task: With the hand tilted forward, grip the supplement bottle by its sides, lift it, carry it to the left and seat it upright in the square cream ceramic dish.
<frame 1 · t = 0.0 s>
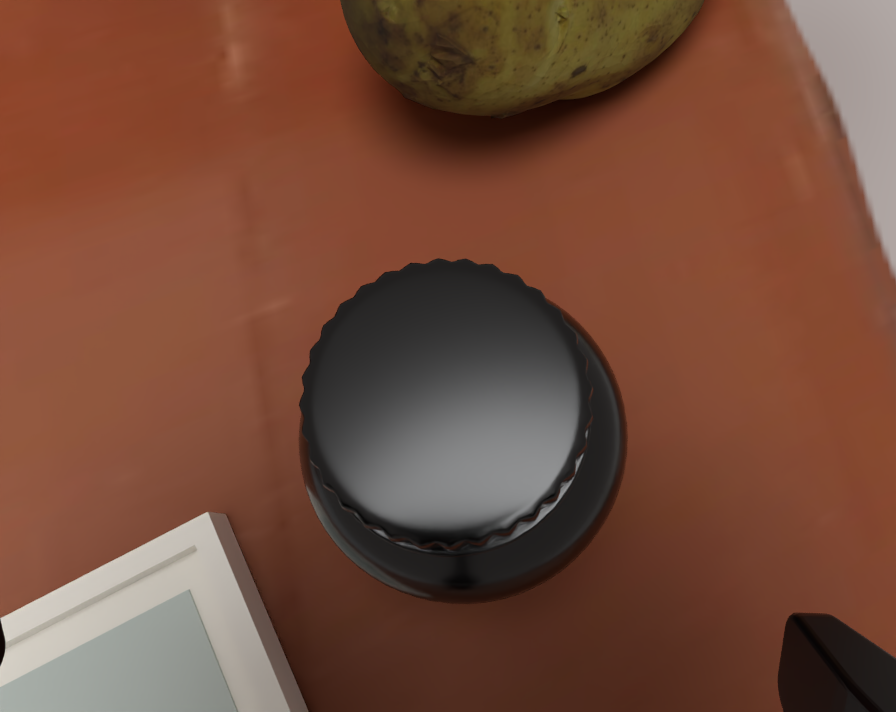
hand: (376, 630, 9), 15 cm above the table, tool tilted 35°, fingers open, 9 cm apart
supplement bottle: (477, 472, 24), on the table
potato: (546, 52, 27), on the table
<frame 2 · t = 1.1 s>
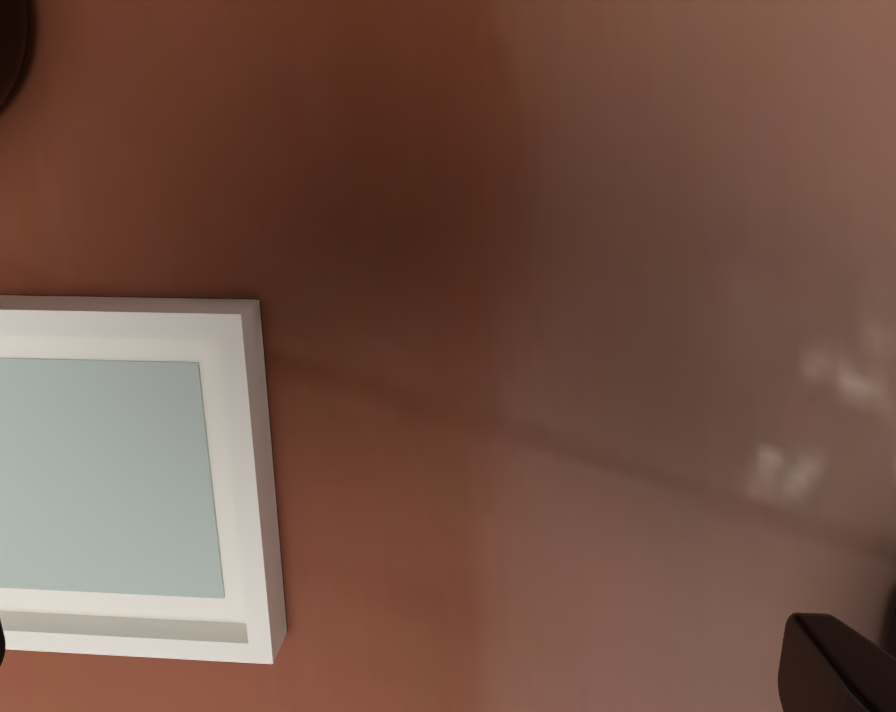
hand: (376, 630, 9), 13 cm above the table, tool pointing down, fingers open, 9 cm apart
cream ceramic dish: (97, 471, 23), on the table
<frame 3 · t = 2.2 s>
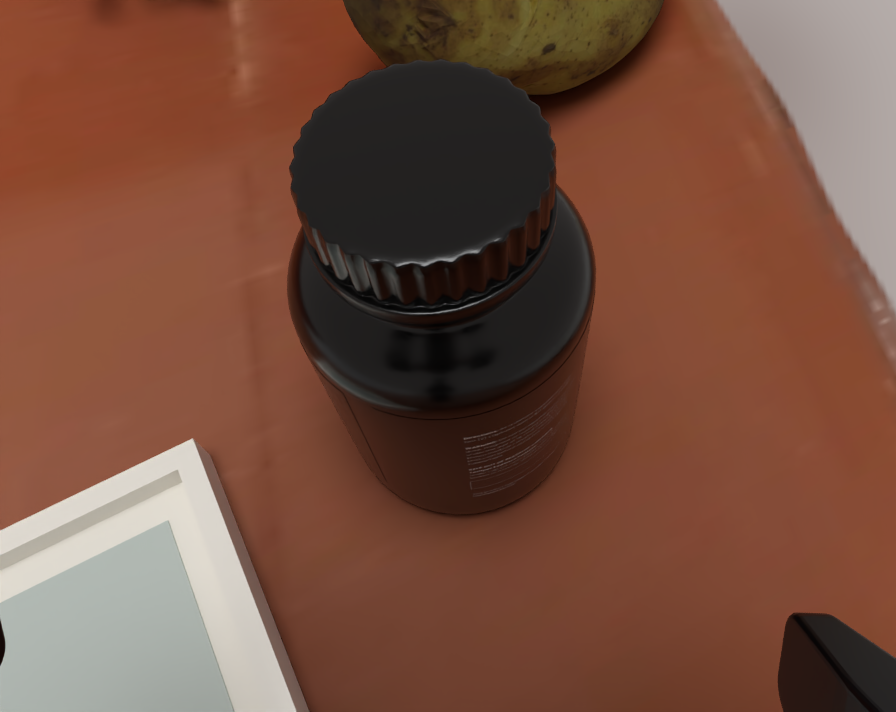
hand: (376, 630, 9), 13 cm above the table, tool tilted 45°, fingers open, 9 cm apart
supplement bottle: (461, 414, 24), on the table
potato: (522, 66, 31), on the table
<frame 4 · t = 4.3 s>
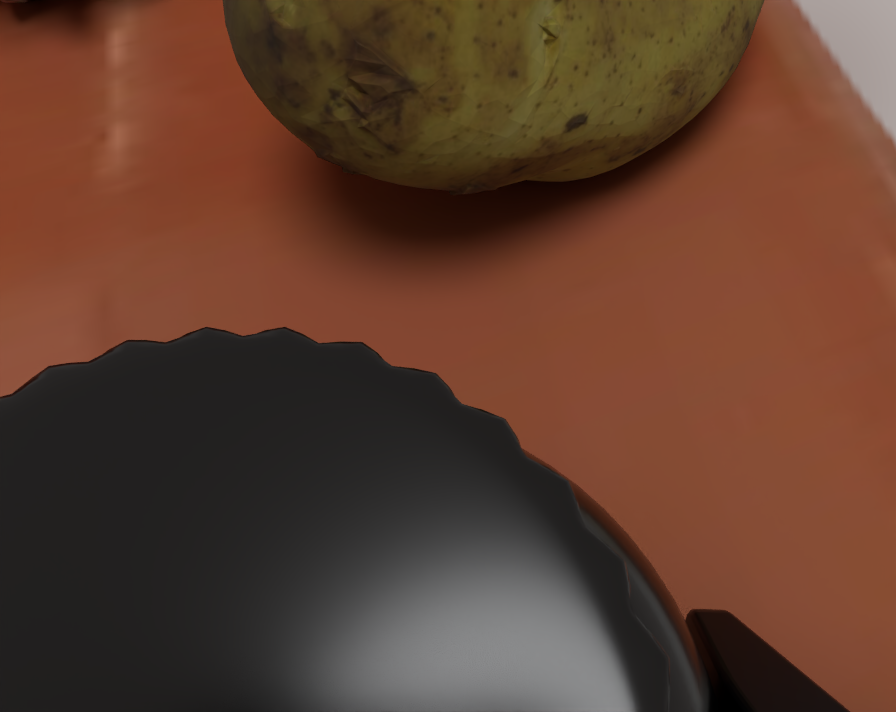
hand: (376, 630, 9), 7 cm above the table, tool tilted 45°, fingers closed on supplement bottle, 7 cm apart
potato: (530, 131, 21), on the table
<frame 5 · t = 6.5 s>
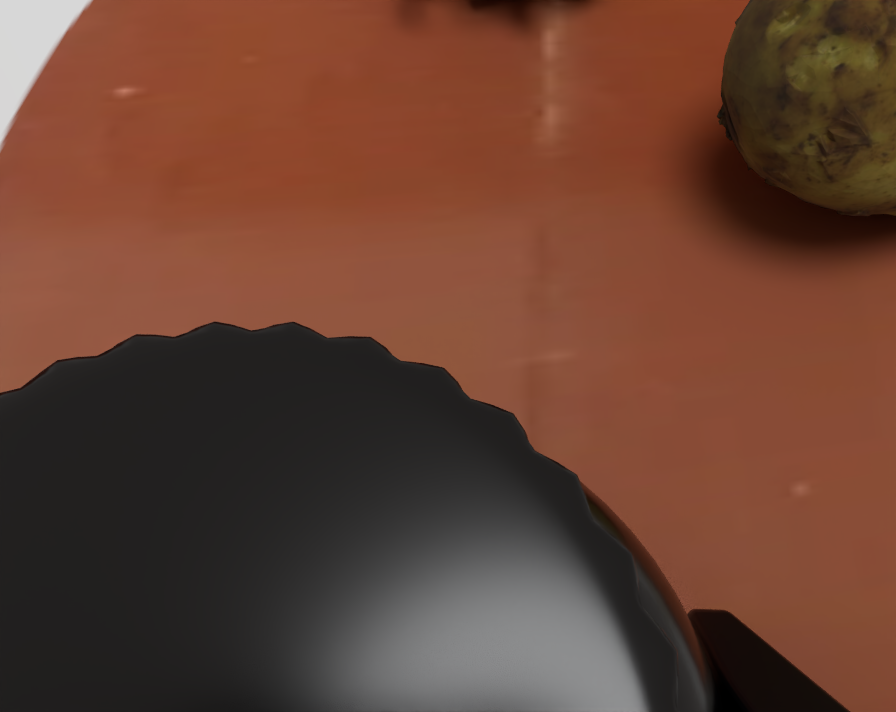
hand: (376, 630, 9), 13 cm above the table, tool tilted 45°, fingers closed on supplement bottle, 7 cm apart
potato: (871, 172, 27), on the table
when the fingers open (8 cm above the table, at t = 8.5 s): supplement bottle drops 1 cm, resting on cream ceramic dish.
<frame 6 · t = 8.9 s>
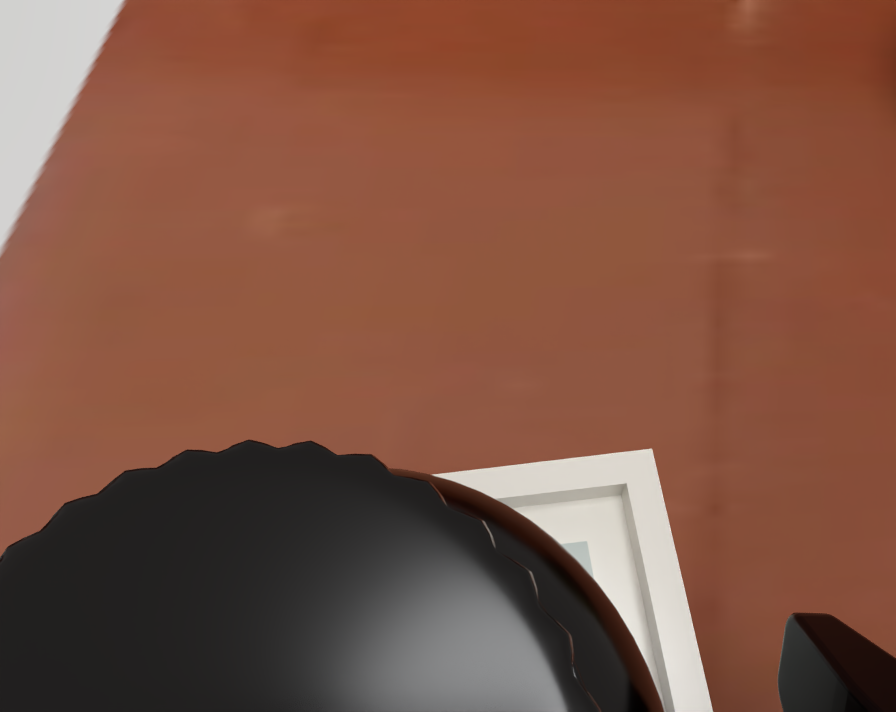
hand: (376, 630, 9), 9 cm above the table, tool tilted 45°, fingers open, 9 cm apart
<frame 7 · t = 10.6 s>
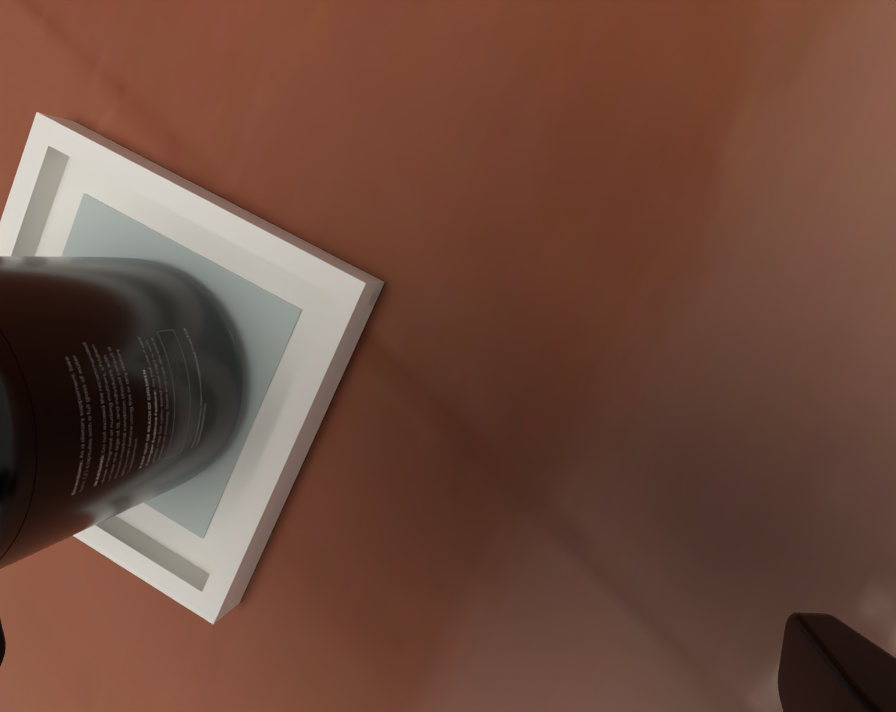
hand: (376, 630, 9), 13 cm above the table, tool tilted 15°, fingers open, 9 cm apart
supplement bottle: (150, 373, 23), point 1 cm above the table, touching cream ceramic dish
cream ceramic dish: (157, 364, 24), on the table
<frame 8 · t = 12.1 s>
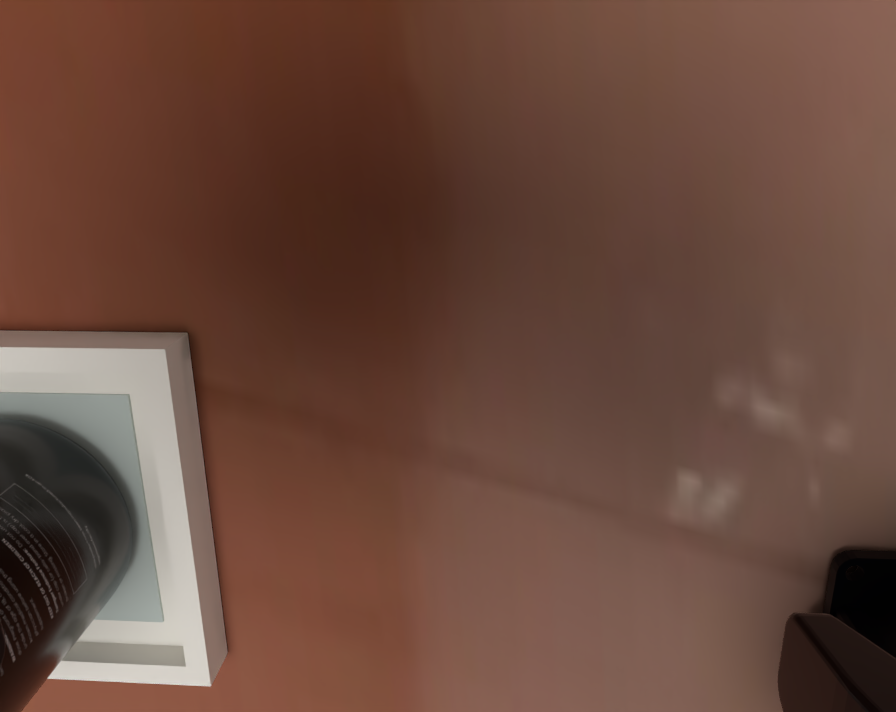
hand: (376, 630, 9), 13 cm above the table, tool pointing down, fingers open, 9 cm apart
supplement bottle: (34, 512, 23), point 1 cm above the table, touching cream ceramic dish
cream ceramic dish: (37, 499, 24), on the table
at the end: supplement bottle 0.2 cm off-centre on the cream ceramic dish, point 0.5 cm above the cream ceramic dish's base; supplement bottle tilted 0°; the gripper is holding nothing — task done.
